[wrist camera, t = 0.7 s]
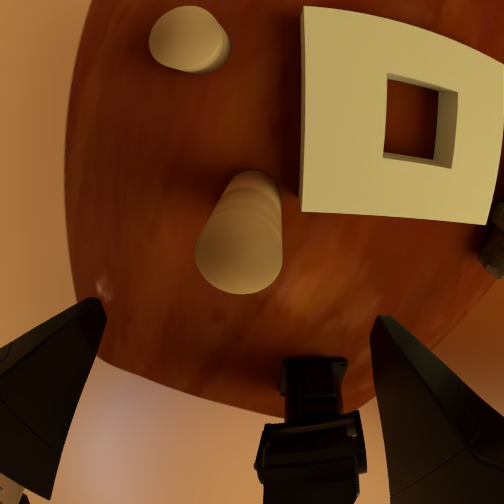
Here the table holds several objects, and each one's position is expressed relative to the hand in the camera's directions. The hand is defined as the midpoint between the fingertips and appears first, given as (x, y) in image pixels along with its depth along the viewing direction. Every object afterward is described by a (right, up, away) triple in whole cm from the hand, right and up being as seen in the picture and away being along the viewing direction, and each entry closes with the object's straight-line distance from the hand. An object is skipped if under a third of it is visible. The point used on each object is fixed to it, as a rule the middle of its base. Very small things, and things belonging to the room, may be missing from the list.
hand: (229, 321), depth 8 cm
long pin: (+1, +6, +10) cm, 12 cm away
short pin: (-2, +15, +6) cm, 16 cm away
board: (+11, +11, +6) cm, 16 cm away
